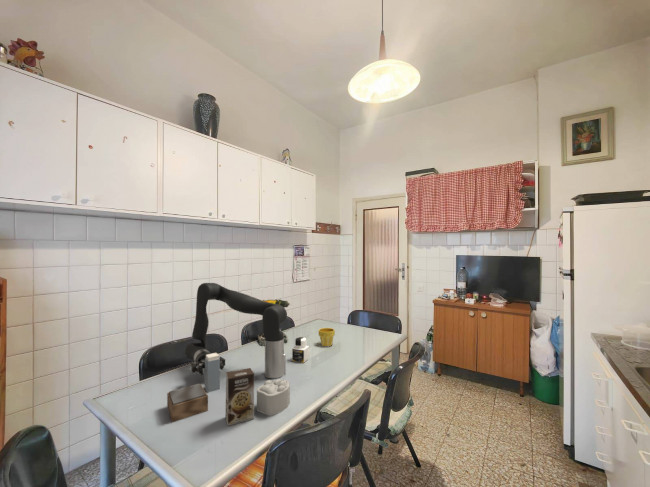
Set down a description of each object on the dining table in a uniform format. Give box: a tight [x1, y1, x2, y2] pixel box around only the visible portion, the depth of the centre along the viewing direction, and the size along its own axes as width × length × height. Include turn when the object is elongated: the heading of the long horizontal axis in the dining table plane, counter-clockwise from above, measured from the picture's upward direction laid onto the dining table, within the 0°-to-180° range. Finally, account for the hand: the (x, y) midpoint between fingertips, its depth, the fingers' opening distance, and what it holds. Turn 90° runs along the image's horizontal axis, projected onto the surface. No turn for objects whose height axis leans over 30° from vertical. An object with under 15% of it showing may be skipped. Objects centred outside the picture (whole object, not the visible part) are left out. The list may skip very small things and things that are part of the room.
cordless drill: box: [257, 299, 291, 347], centre depth 189 cm, size 18×19×28 cm
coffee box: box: [225, 367, 255, 426], centre depth 101 cm, size 9×6×16 cm
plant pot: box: [318, 327, 336, 347], centre depth 179 cm, size 10×10×10 cm
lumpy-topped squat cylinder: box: [256, 378, 291, 417], centre depth 109 cm, size 10×13×9 cm
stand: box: [166, 383, 209, 423], centre depth 107 cm, size 12×12×6 cm
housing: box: [204, 352, 221, 393], centre depth 123 cm, size 5×5×14 cm
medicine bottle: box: [291, 336, 310, 364], centre depth 155 cm, size 7×7×12 cm
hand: (212, 369), depth 123 cm, fingers open, 8 cm apart
